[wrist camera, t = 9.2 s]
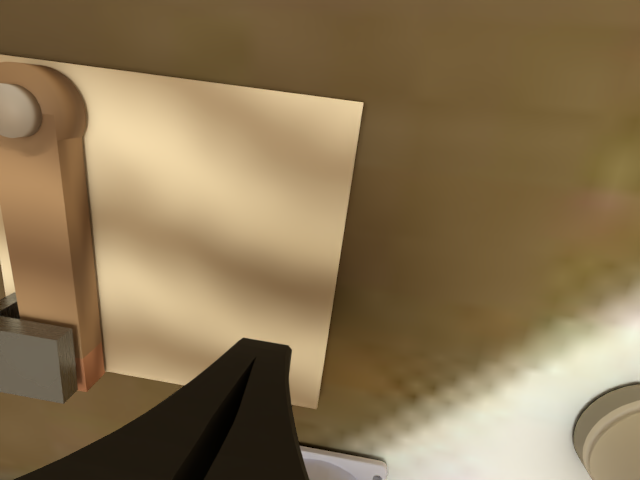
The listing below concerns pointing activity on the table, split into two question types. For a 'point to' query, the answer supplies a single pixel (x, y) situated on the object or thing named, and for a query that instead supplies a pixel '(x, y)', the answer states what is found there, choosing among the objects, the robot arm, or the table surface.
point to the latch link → (49, 208)
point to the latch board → (211, 219)
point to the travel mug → (611, 436)
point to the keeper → (35, 356)
